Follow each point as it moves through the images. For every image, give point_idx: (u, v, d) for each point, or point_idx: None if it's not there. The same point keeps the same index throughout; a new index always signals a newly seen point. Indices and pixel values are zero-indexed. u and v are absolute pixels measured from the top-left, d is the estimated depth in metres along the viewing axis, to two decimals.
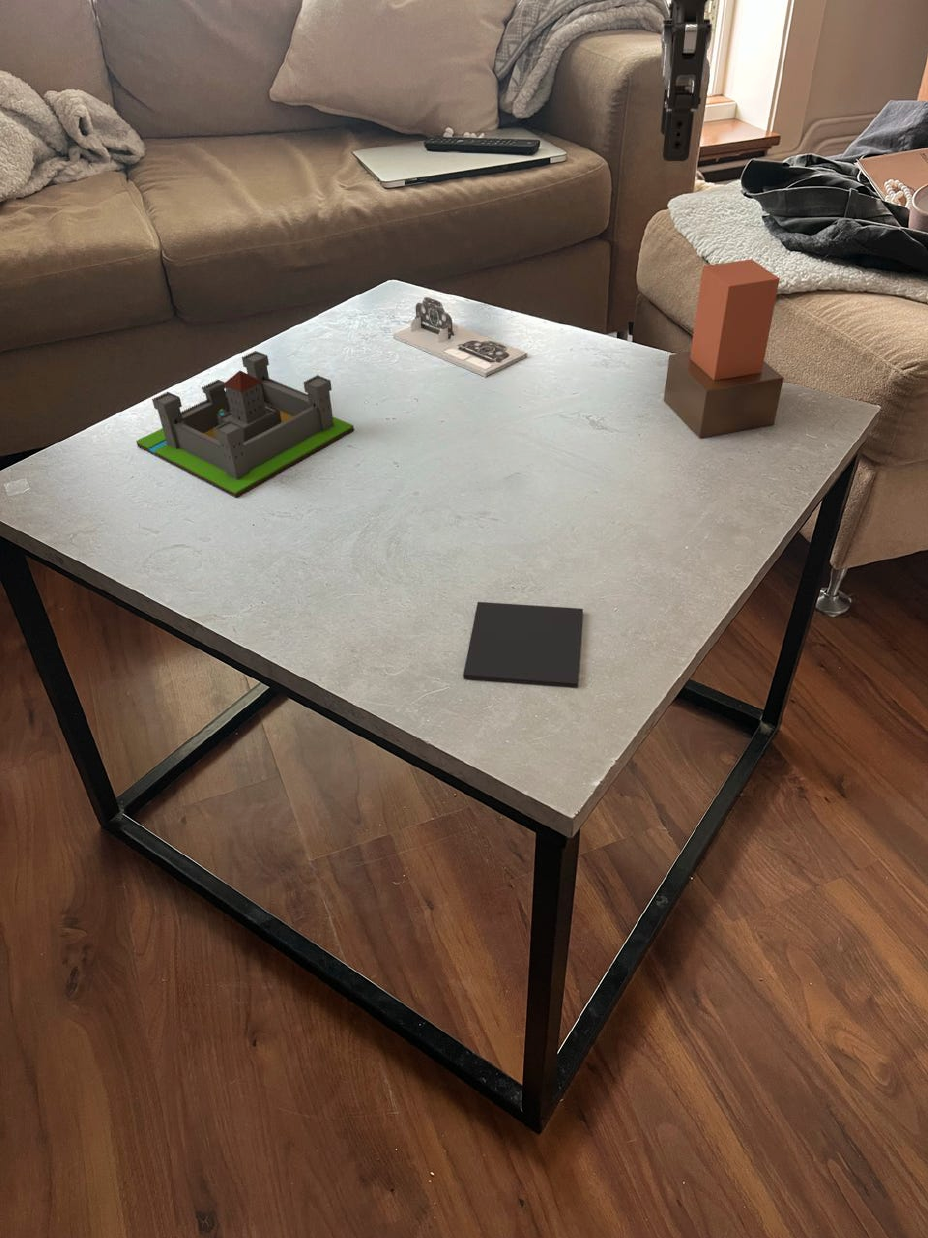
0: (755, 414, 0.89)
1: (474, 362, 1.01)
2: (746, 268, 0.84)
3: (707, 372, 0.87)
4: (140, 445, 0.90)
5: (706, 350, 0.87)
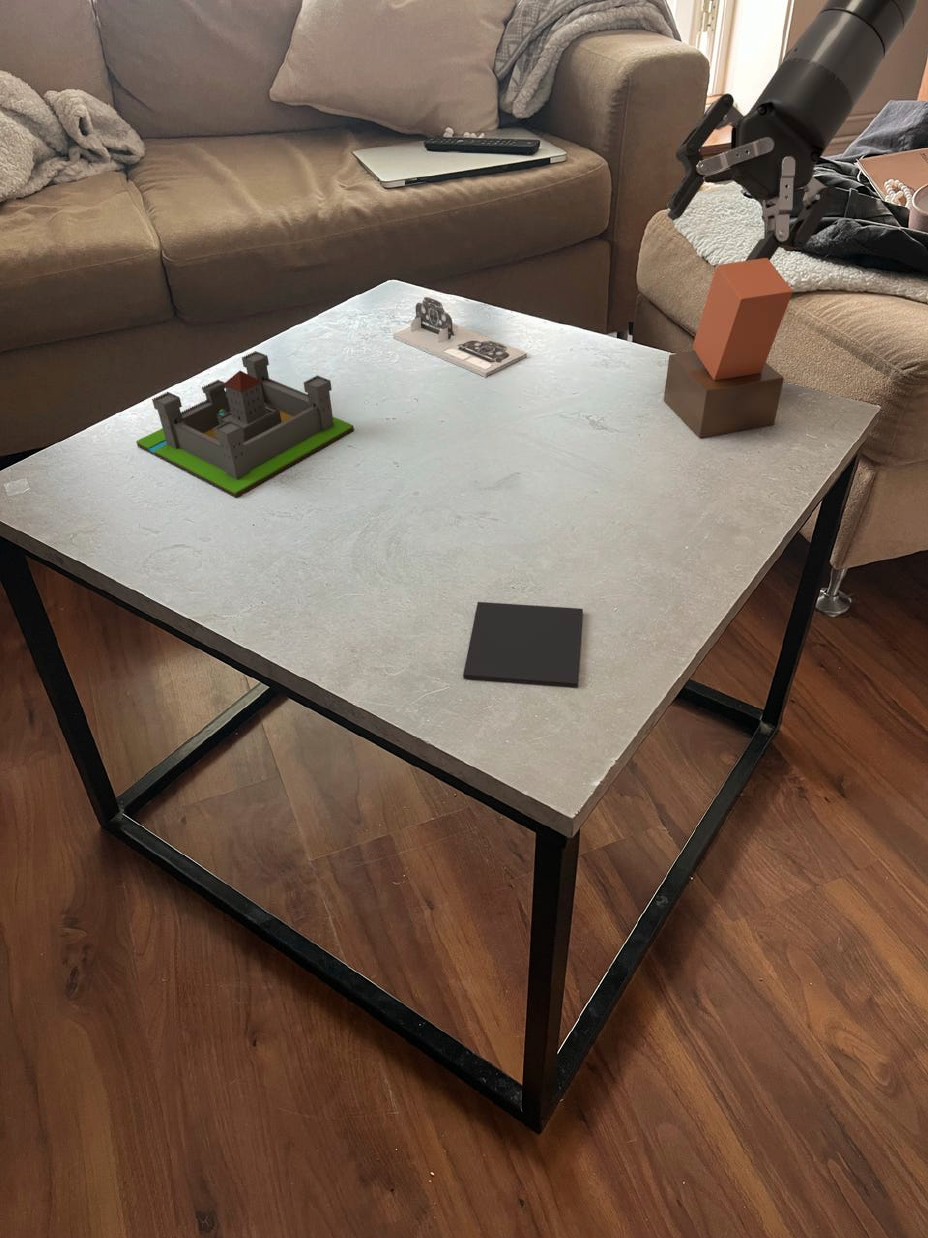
0: (755, 414, 0.89)
1: (474, 362, 1.01)
2: (761, 272, 0.82)
3: (708, 369, 0.87)
4: (140, 445, 0.90)
5: (709, 348, 0.86)
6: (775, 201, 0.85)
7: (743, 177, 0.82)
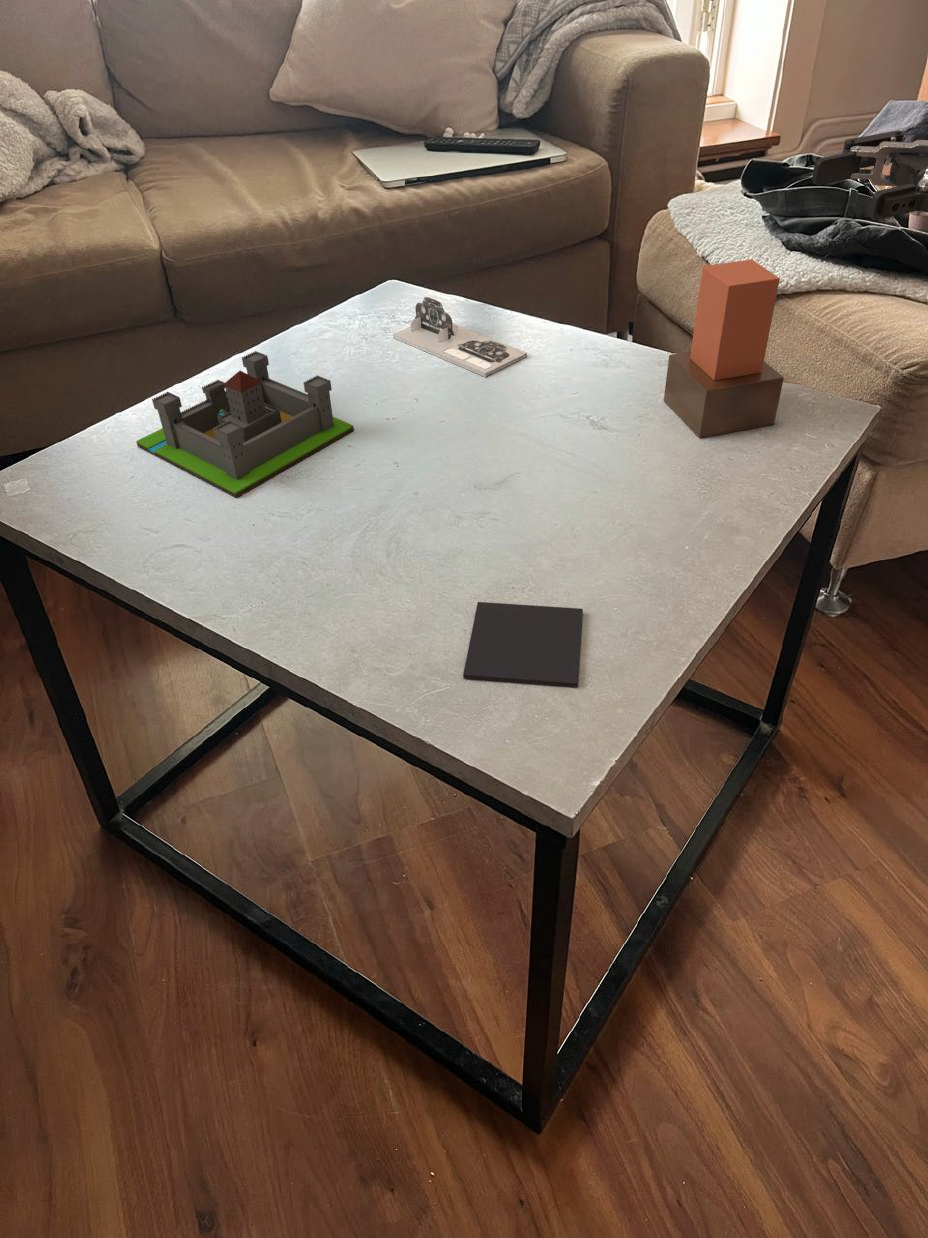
0: (755, 414, 0.89)
1: (474, 362, 1.01)
2: (747, 268, 0.84)
3: (707, 372, 0.87)
4: (140, 445, 0.90)
5: (706, 350, 0.87)
6: None
7: (897, 162, 0.82)
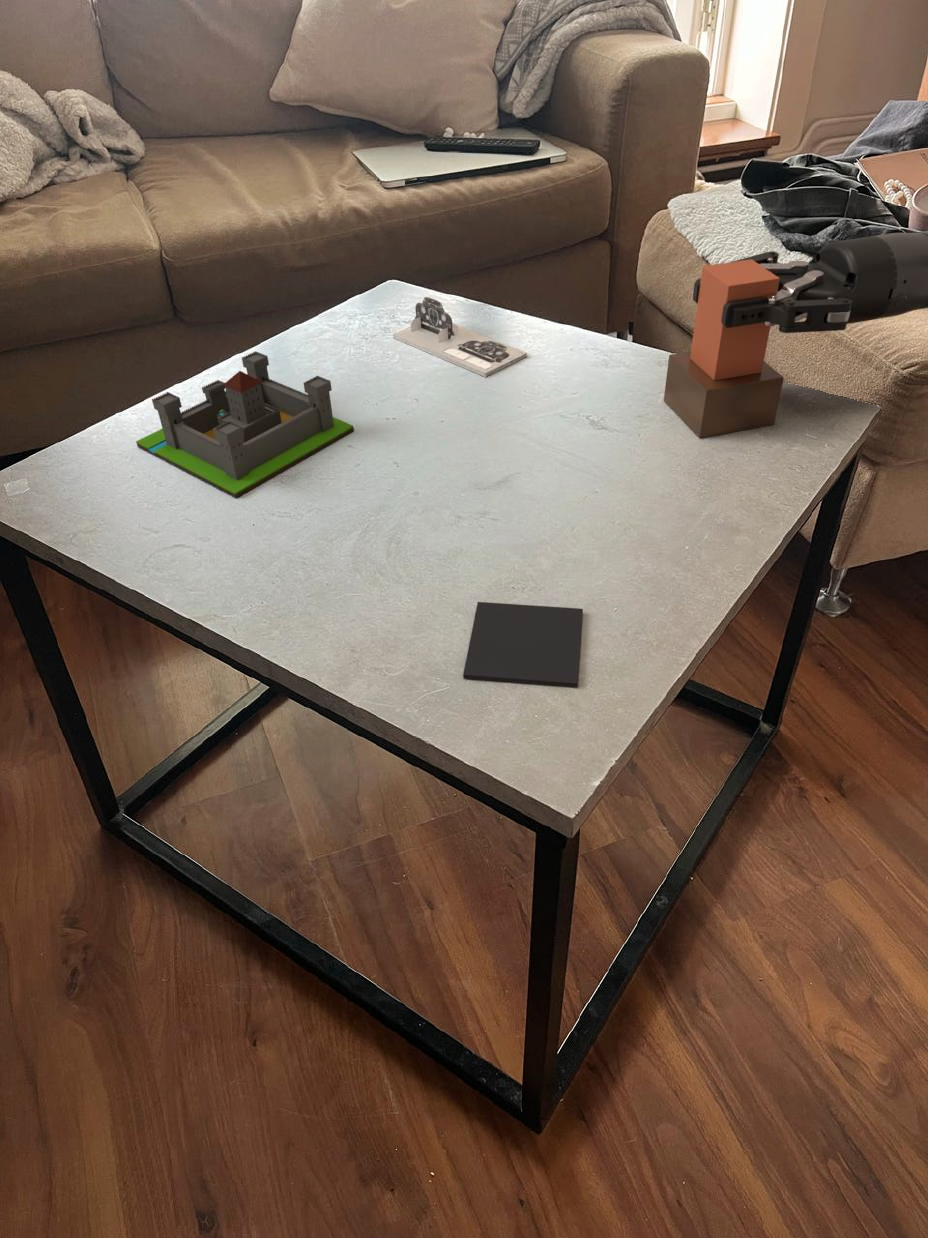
0: (755, 414, 0.89)
1: (474, 362, 1.01)
2: (746, 268, 0.84)
3: (707, 372, 0.87)
4: (140, 445, 0.90)
5: (705, 350, 0.87)
6: None
7: None
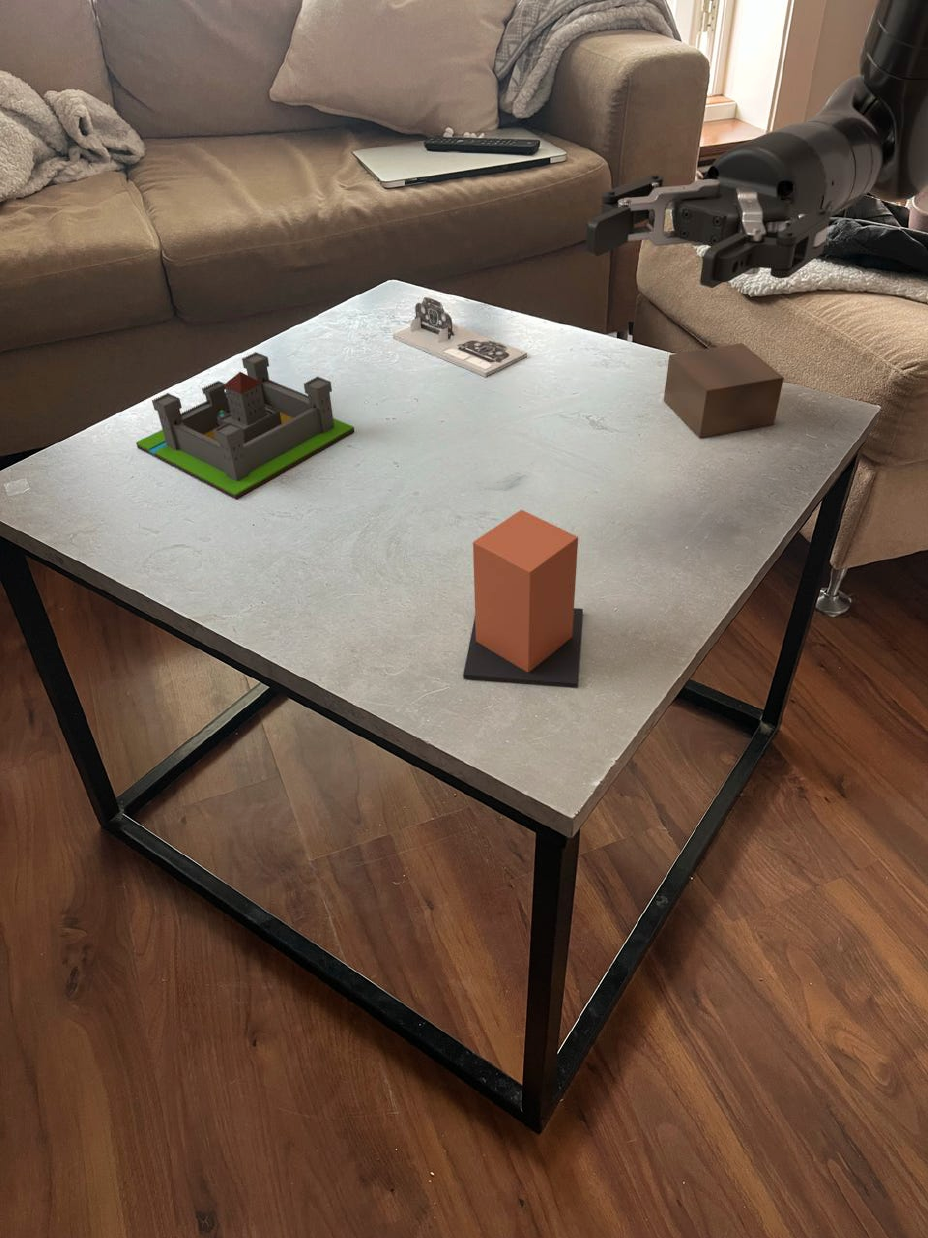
0: (755, 414, 0.89)
1: (474, 362, 1.01)
2: (528, 529, 0.62)
3: (513, 662, 0.65)
4: (140, 446, 0.90)
5: (504, 638, 0.64)
6: None
7: (687, 211, 0.60)
